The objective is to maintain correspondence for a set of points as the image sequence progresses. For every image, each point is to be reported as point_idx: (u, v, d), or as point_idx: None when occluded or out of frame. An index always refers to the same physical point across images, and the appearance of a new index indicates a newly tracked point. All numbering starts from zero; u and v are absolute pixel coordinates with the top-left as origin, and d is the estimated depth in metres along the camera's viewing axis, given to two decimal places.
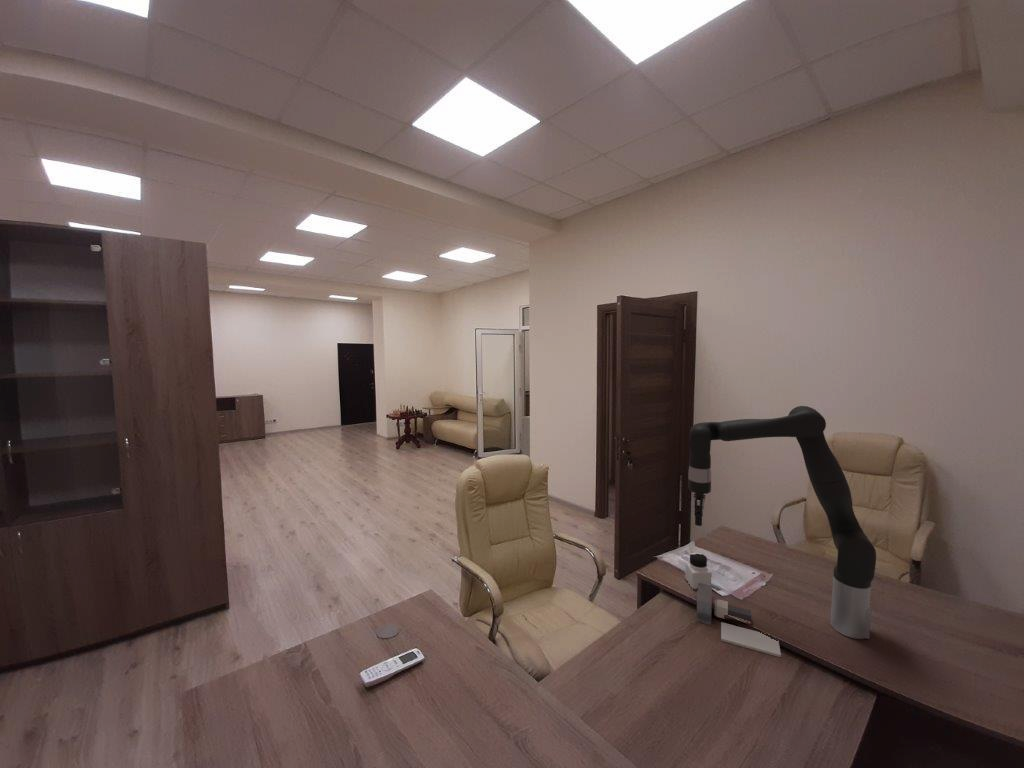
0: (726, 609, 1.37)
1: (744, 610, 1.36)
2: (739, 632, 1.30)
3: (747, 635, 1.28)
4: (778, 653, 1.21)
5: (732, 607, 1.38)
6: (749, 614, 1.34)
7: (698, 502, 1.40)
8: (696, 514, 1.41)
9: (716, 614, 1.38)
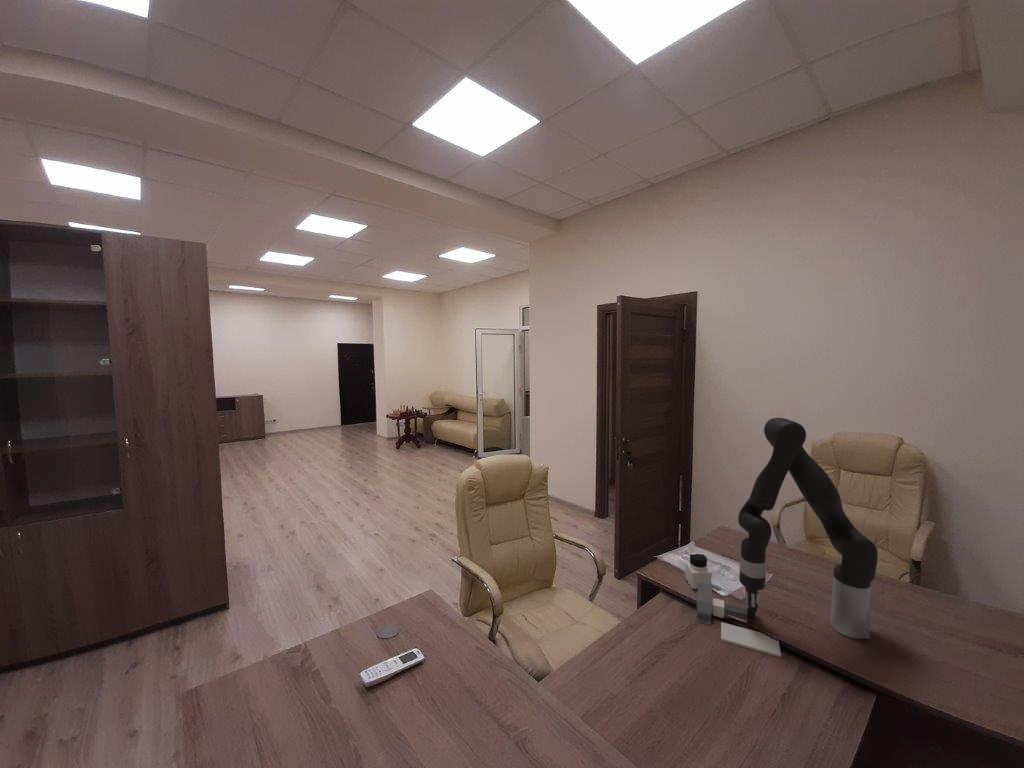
0: (722, 608, 1.37)
1: (740, 609, 1.37)
2: (739, 632, 1.30)
3: (747, 635, 1.28)
4: (778, 653, 1.21)
5: (728, 606, 1.39)
6: (745, 613, 1.35)
7: (753, 606, 1.29)
8: (750, 609, 1.32)
9: (713, 613, 1.39)
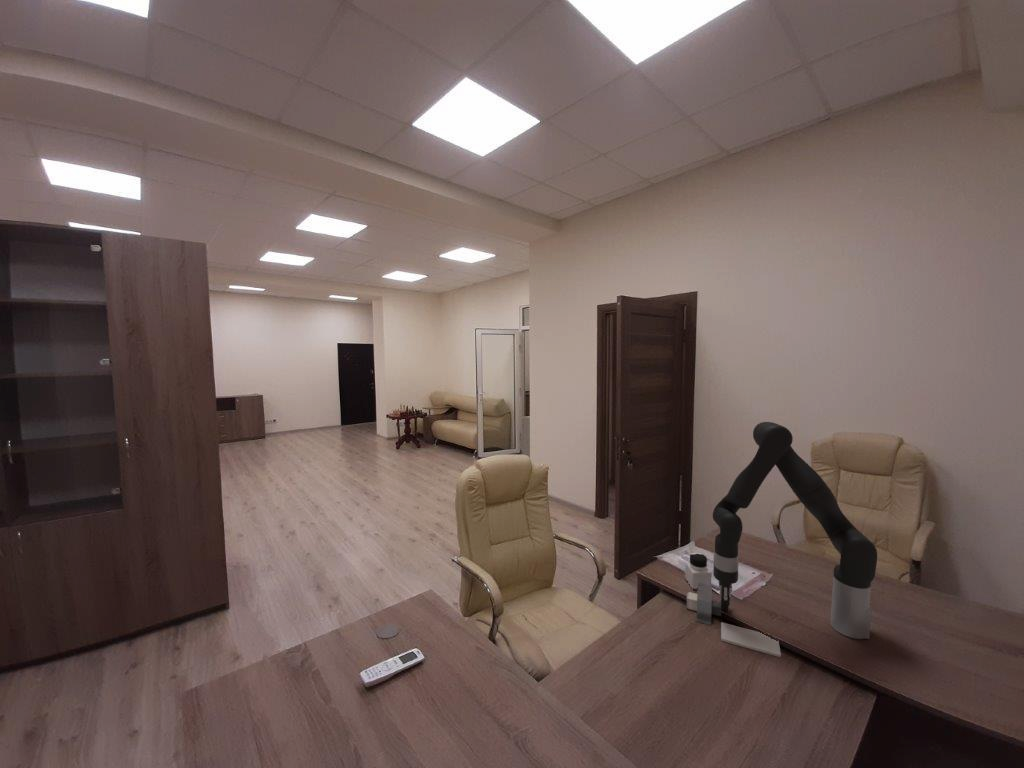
0: None
1: (715, 602, 1.41)
2: (739, 632, 1.30)
3: (747, 635, 1.28)
4: (778, 653, 1.21)
5: None
6: (719, 606, 1.39)
7: (725, 599, 1.33)
8: (723, 602, 1.36)
9: (688, 606, 1.43)
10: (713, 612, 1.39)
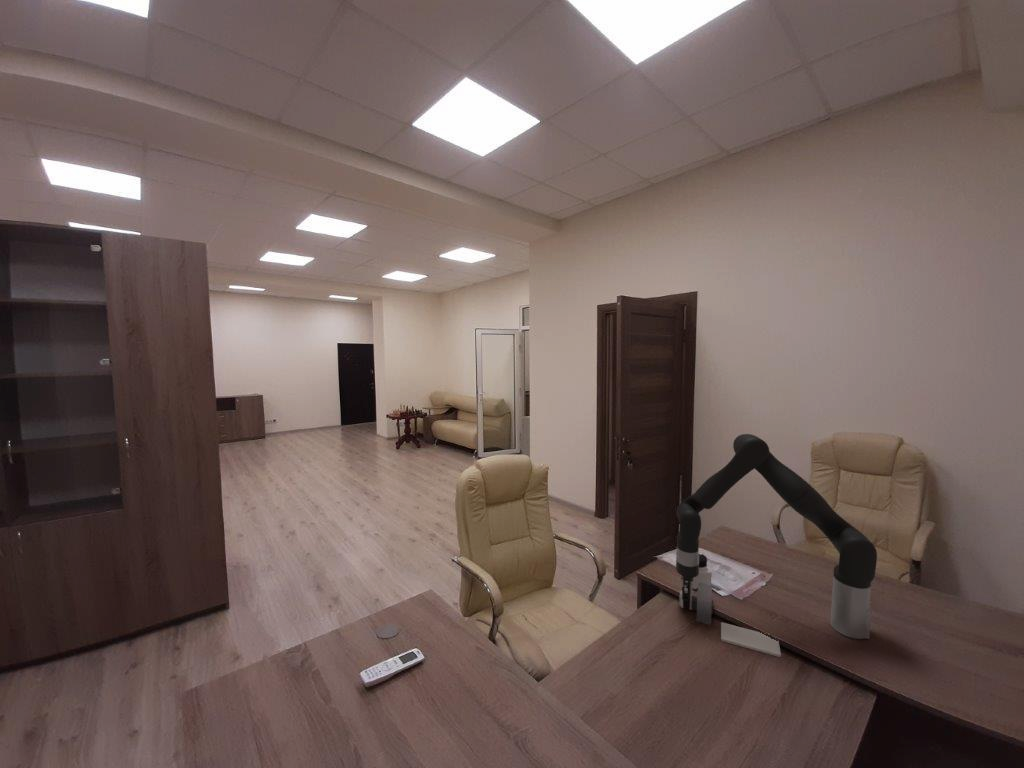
0: (690, 600, 1.42)
1: None
2: (739, 632, 1.30)
3: (747, 635, 1.28)
4: (778, 653, 1.21)
5: (696, 598, 1.43)
6: None
7: (685, 591, 1.38)
8: (684, 598, 1.40)
9: (681, 605, 1.44)
10: None
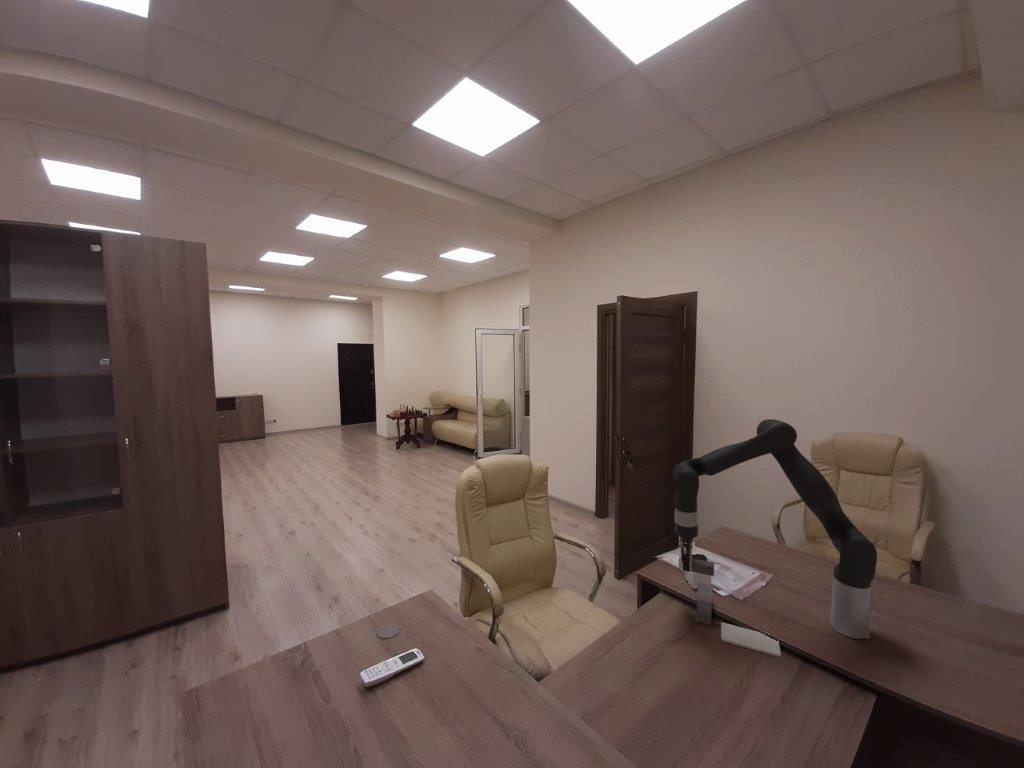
0: None
1: (707, 562, 1.38)
2: (739, 632, 1.30)
3: (747, 635, 1.28)
4: (778, 653, 1.21)
5: (696, 560, 1.40)
6: (712, 566, 1.36)
7: (684, 551, 1.34)
8: (683, 560, 1.36)
9: (680, 568, 1.40)
10: (706, 572, 1.36)
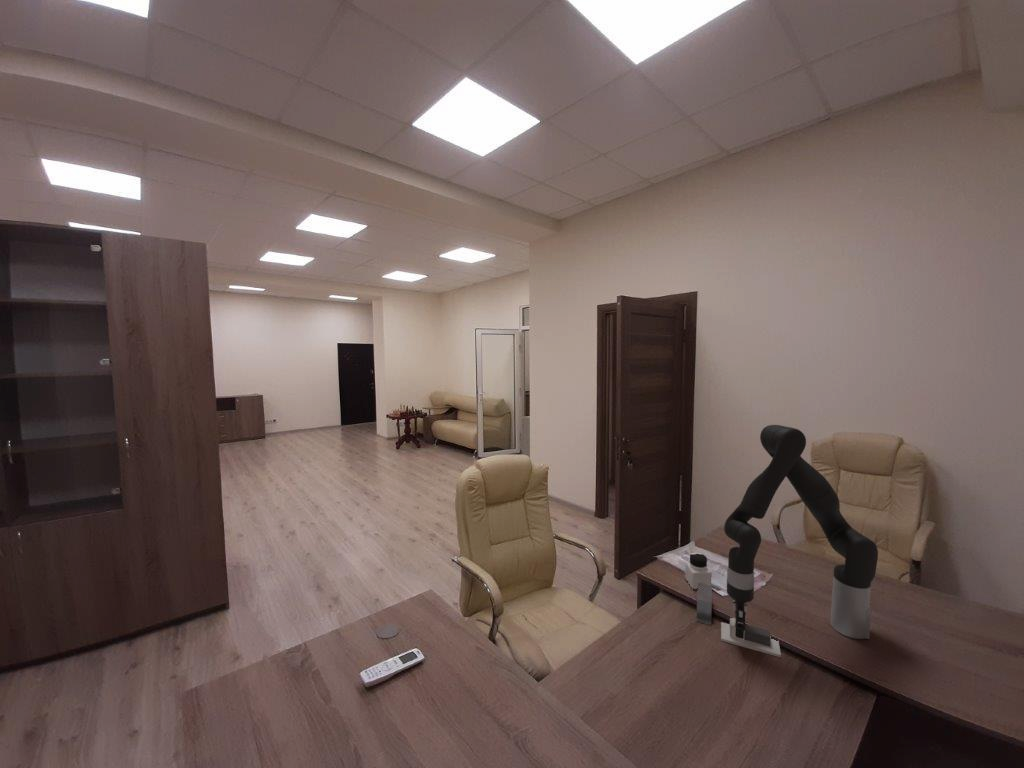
0: None
1: (762, 630, 1.26)
2: None
3: None
4: (778, 653, 1.21)
5: (749, 627, 1.27)
6: (768, 635, 1.24)
7: (740, 614, 1.21)
8: (738, 627, 1.22)
9: (732, 634, 1.28)
10: (761, 641, 1.24)
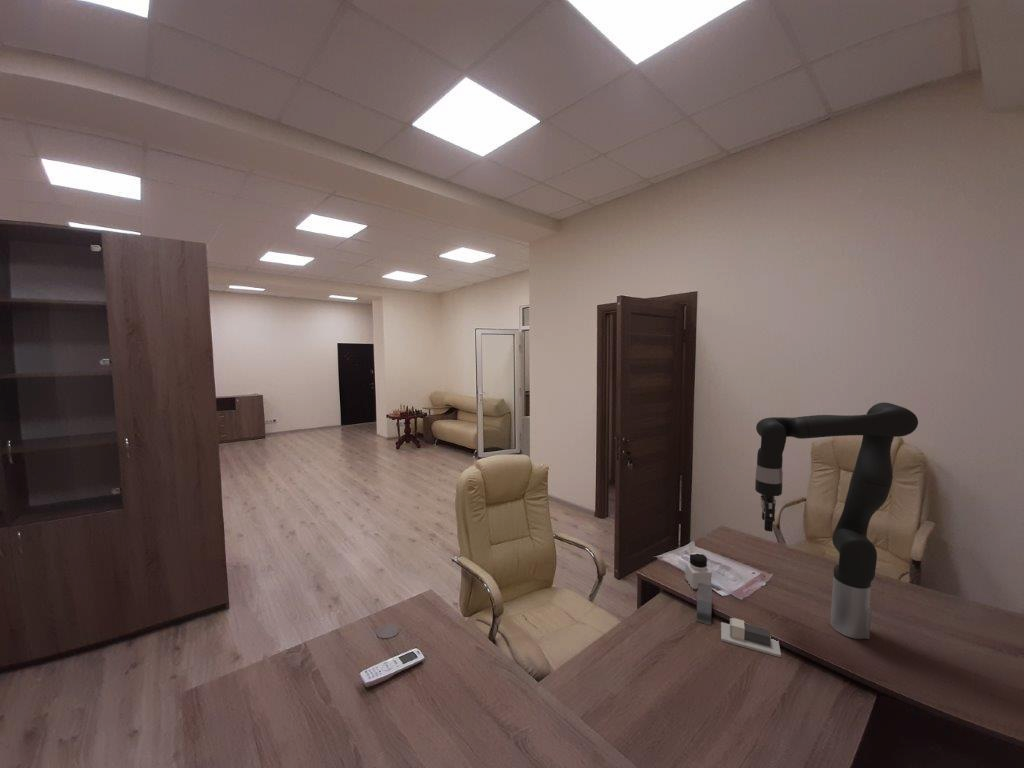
0: (743, 629, 1.26)
1: (762, 630, 1.26)
2: None
3: None
4: (778, 653, 1.21)
5: (749, 627, 1.27)
6: (768, 635, 1.24)
7: (770, 505, 1.27)
8: (767, 518, 1.27)
9: (732, 634, 1.28)
10: (761, 641, 1.24)
